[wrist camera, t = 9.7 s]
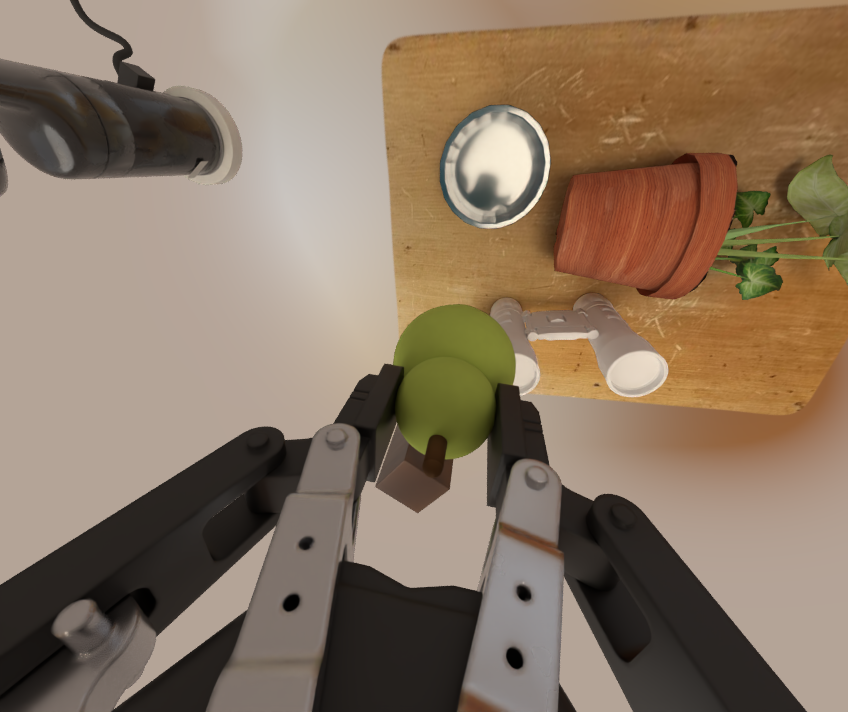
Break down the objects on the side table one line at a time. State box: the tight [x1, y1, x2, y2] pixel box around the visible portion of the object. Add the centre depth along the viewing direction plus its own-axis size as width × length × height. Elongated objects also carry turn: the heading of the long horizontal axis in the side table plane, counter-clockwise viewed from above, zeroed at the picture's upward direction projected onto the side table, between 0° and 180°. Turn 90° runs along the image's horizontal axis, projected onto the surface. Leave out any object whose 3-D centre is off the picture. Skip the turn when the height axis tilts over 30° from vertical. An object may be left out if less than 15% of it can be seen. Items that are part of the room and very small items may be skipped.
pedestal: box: [376, 424, 453, 513], centre depth 44 cm, size 5×5×28 cm
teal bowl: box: [440, 105, 551, 229], centre depth 39 cm, size 12×12×7 cm
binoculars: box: [490, 293, 668, 397], centre depth 42 cm, size 17×5×18 cm, turn 97°
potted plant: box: [554, 153, 848, 300], centre depth 35 cm, size 16×15×35 cm
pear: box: [393, 304, 516, 478], centre depth 13 cm, size 5×5×9 cm
